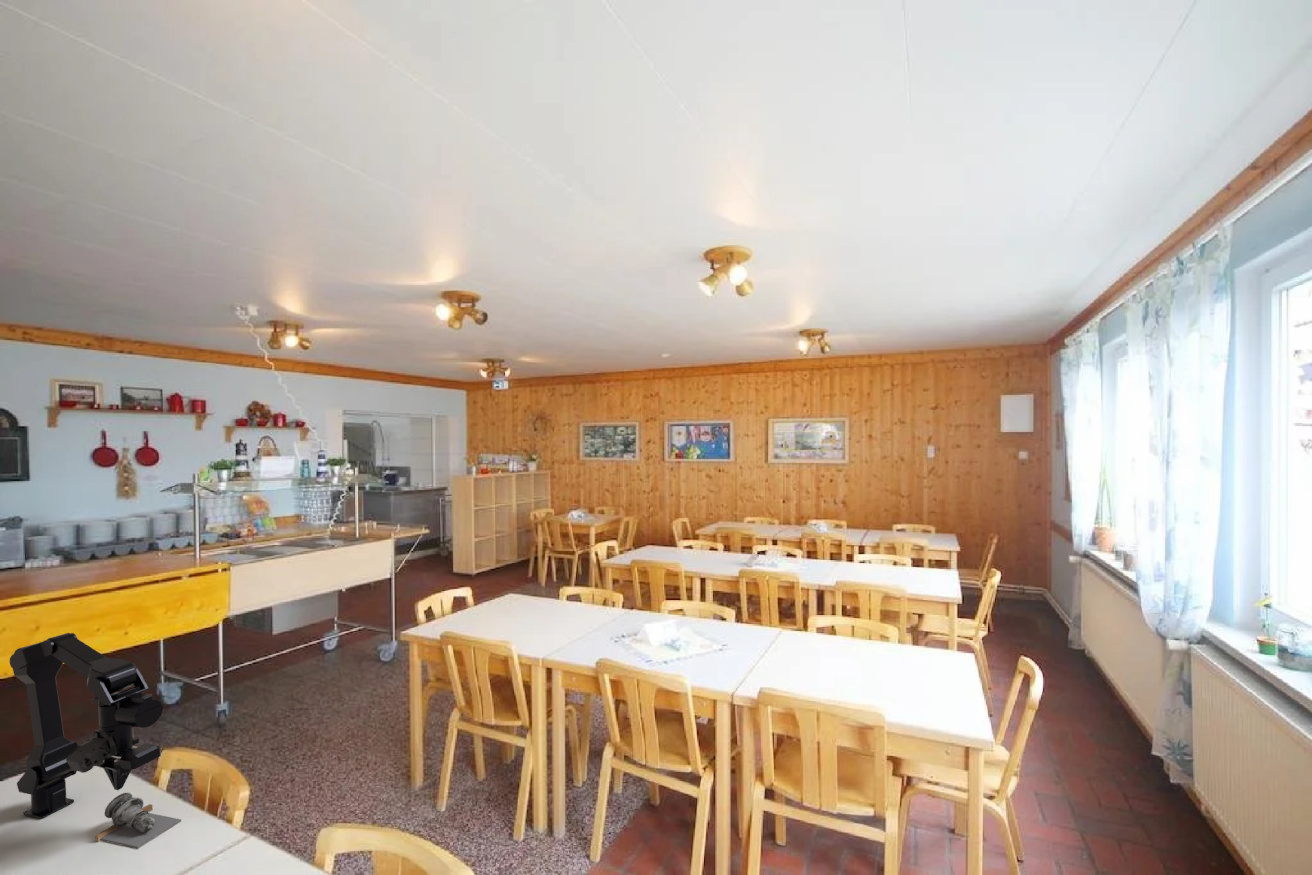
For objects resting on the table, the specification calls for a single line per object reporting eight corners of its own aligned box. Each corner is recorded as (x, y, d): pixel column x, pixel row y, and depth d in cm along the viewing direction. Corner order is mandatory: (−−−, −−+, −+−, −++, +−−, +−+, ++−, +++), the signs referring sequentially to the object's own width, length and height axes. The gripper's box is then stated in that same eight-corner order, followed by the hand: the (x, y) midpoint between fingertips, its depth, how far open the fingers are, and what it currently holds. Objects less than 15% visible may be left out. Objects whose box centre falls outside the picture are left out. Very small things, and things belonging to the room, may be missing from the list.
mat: (100, 840, 129) (100, 838, 129) (145, 813, 138) (145, 812, 138) (138, 848, 126) (137, 846, 126) (181, 821, 135) (181, 819, 135)
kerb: (94, 840, 129) (94, 835, 129) (149, 809, 139) (149, 804, 139) (98, 841, 129) (97, 836, 129) (152, 809, 139) (152, 804, 139)
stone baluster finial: (102, 825, 132) (137, 849, 128) (102, 803, 131) (137, 827, 127) (133, 806, 138) (167, 829, 134) (133, 785, 136) (167, 808, 133)
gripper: (42, 734, 129) (45, 805, 129) (105, 744, 124) (107, 818, 124) (102, 710, 139) (104, 775, 140) (161, 719, 135) (163, 786, 135)
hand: (118, 788), depth 134 cm, fingers closed
